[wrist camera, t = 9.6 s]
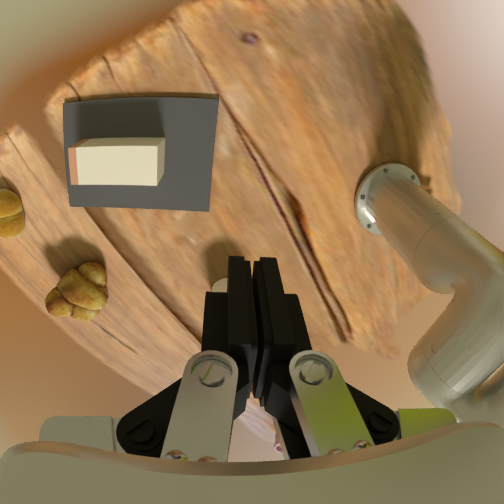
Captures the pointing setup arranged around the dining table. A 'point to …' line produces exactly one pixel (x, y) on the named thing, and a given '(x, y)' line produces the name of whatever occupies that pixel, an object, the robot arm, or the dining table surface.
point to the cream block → (117, 161)
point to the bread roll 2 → (79, 292)
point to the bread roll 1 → (11, 214)
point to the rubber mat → (156, 126)
